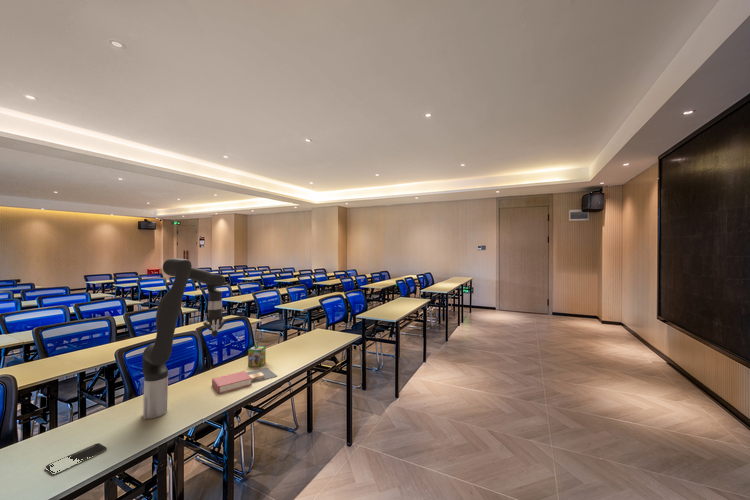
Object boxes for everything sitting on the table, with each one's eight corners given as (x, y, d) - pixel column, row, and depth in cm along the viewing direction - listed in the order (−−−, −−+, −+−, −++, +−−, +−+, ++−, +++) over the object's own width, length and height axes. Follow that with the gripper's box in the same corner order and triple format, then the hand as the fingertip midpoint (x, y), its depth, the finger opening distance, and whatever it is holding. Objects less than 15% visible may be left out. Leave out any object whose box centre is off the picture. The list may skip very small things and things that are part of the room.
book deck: (218, 393, 162) (218, 386, 162) (211, 385, 173) (212, 378, 173) (251, 384, 174) (251, 377, 174) (244, 377, 185) (244, 370, 185)
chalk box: (260, 367, 202) (261, 345, 202) (247, 366, 202) (247, 345, 202) (266, 362, 211) (266, 341, 211) (253, 362, 211) (253, 341, 212)
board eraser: (249, 382, 177) (249, 378, 177) (246, 379, 181) (246, 375, 181) (264, 378, 183) (264, 375, 183) (260, 375, 187) (260, 372, 187)
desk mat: (251, 383, 176) (251, 382, 176) (241, 374, 189) (241, 373, 189) (277, 376, 186) (277, 375, 187) (266, 368, 200) (266, 367, 200)
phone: (44, 466, 105) (98, 442, 118) (44, 469, 105) (98, 445, 118) (53, 473, 102) (108, 448, 115) (53, 477, 102) (108, 451, 115)
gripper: (204, 310, 172) (203, 340, 171) (228, 307, 180) (228, 336, 180) (201, 308, 177) (200, 337, 177) (225, 306, 186) (224, 333, 186)
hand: (214, 336), depth 178 cm, fingers closed
